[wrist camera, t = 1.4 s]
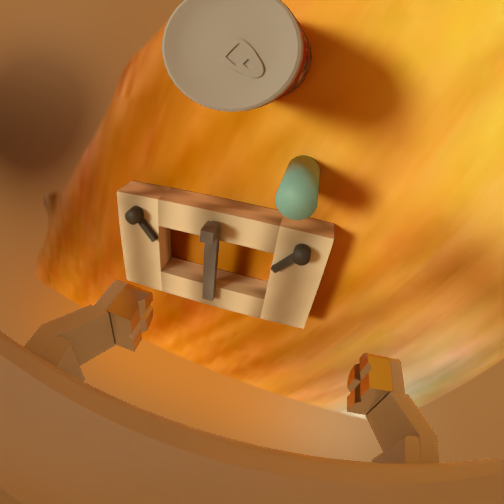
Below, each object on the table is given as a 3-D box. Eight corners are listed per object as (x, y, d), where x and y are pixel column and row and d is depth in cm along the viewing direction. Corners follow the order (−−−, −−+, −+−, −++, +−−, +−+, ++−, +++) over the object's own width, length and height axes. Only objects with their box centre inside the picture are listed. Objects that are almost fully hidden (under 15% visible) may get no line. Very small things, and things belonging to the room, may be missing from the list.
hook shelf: (334, 223, 30) (334, 252, 25) (305, 310, 36) (301, 343, 32) (131, 180, 32) (104, 200, 28) (138, 266, 39) (118, 290, 35)
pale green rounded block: (323, 159, 26) (321, 187, 21) (316, 189, 28) (312, 224, 22) (290, 152, 27) (279, 177, 21) (284, 182, 28) (272, 214, 23)
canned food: (285, 112, 25) (259, 138, 16) (206, 72, 24) (140, 79, 15) (329, 41, 20) (331, 19, 12) (245, 1, 20) (195, -34, 11)
